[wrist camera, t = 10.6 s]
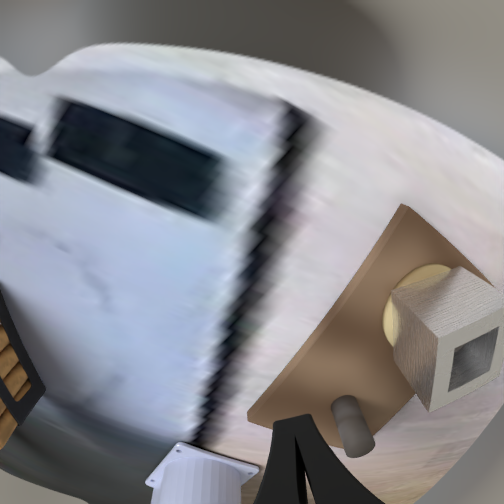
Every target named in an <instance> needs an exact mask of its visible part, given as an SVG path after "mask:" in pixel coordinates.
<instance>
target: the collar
mask: <svg viewBox="0 0 504 504" xmlns="http://www.w3.org/2000/svg"><path fill="white" fill-rule="evenodd" d="M391 298H392V318H393V360H394V361H395V363H396V364H397V366H398V367H399V369H400V370H401V372H402V373H403V375H404V376H405V378H406V379H407V381H408V382H409V384H410V385H411V387H412V388H413V390H414V391H415V393H416V394H417V396H418V397H419V399H420V400H421V402H422V403H423V405H424V406H425V408H426V410H427V411H428V413H430V412H432V411H435V410H437V409H439V408H441V407H443V406H445V405H447V404H449V403H451V402H453V401H455V400H457V399H459V398H461V397H463V396H465V395H467V394H469V393H471V392H472V391H474V390H476V389H478V388H480V387H482V386H483V385H485V384H487V383H488V382H490V381H492V380H494V379H495V378H497V377H499V374H500V371H501V367H502V363H503V359H504V293H502V292H501V291H499V290H497V289H496V288H494V287H493V286H491V285H490V284H488V283H487V282H485V281H484V280H482V279H480V278H479V277H477V276H476V275H474V274H472V273H471V272H469V271H468V270H466V269H464V268H463V267H461V266H459V267H457V268H454V269H451V270H449V271H446V272H443V273H440V274H437V275H435V276H432V277H429V278H426V279H423V280H420V281H417V282H414V283H411V284H409V285H406V286H403V287H399V288H396V289H393V290H391ZM463 344H464V346H463V347H462V348H461V349H460V350H458V351H456V352H454V350H455V348H456V347H459V346H461V345H463Z"/></svg>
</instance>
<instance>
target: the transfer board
mask: <svg viewBox="0 0 504 504" xmlns="http://www.w3.org/2000/svg"><path fill="white" fill-rule="evenodd" d="M459 266H461V267H463V268H464V269H466V270H468V271H469V272H471V273H472V274H474V275H476V276H477V277H479V278H480V279H482V280H484V281H485V282H487V283H488V284H490V285H491V286H493V285H492V284H491V283H490V282H489V281H488V280H487V279H486V278H485V276H484V275H483V274H482V273H481V272H480V271H479V270H478V269H477V268H476V267H475V266H474V265H473V264H472V263H471V262H470V261H469V260H468V259H467V258H466V257H465V256H464V255H462V254H461V253H460V252H459V251H458V250H457V249H456V248H455V247H454V246H453V245H452V244H451V243H450V242H449V241H448V240H447V239H446V238H444V237H443V236H442V235H441V234H440V233H439V232H438V231H437V230H436V229H434V228H433V227H432V226H431V225H430V224H429V223H428V222H427V221H425V220H424V219H423V218H422V217H421V216H420V215H418V214H417V213H416V212H415V211H414V210H413V209H411V208H410V207H409V206H406V205H404V204H400V206H399V208H398V209H397V211H396V213H395V214H394V216H393V218H392V219H391V221H390V222H389V224H388V226H387V227H386V229H385V230H384V232H383V233H382V235H381V236H380V238H379V240H378V241H377V243H376V244H375V246H374V247H373V249H372V250H371V252H370V253H369V255H368V256H367V258H366V259H365V261H364V262H363V264H362V265H361V267H360V268H359V270H358V271H357V272H356V274H355V275H354V277H353V278H352V280H351V281H350V283H349V284H348V285H347V287H346V288H345V290H344V291H343V292H342V294H341V295H340V297H339V298H338V299H337V301H336V302H335V304H334V305H333V306H332V308H331V309H330V310H329V312H328V313H327V314H326V316H325V317H324V318H323V320H322V321H321V322H320V324H319V325H318V326H317V328H316V329H315V330H314V332H313V333H312V334H311V336H310V337H309V338H308V339H307V341H306V342H305V343H304V345H303V346H302V347H301V348H300V350H299V351H298V352H297V353H296V355H295V356H294V357H293V358H292V360H291V361H290V362H289V363H288V365H287V366H286V367H285V368H284V369H283V371H282V372H281V373H280V374H279V375H278V377H277V378H276V379H275V380H274V381H273V383H272V384H271V385H270V386H269V387H268V389H267V390H266V391H265V392H264V393H263V394H262V396H261V397H260V398H259V399H258V400H257V401H256V402H255V404H254V405H253V406H252V407H251V408H250V409H249V410H248V412H247V418H248V421H249V422H251V423H254V424H257V425H260V426H263V427H266V428H269V429H273V423H274V422H275V421H278V420H282V419H287V418H291V417H295V416H300V415H304V414H308V413H309V414H311V415H312V417H313V420H314V422H315V424H316V426H317V428H318V430H319V432H320V433H321V435H322V437H323V438H324V440H325V441H326V443H327V444H328V445H330V446H334V447H338V448H343V449H344V450H345V453H346V455H347V456H348V457H350V458H357V457H361V456H364V455H366V454H368V453H369V452H370V451H372V450H373V448H374V447H375V441H374V439H373V435H374V434H375V433H376V432H378V431H379V430H380V429H381V428H382V427H383V426H384V425H385V424H386V423H387V422H388V421H389V420H390V419H391V418H392V417H393V416H394V415H395V414H396V413H397V412H398V411H399V410H400V409H401V408H402V407H403V406H404V405H405V404H406V403H407V402H408V401H409V400H410V399H411V398H412V397H413V395H414V394H415V391H414V390H413V388H412V387H411V385H410V384H409V382H408V381H407V379H406V378H405V376H404V375H403V373H402V372H401V370H400V369H399V367H398V366H397V364H396V363H395V361H394V360H393V318H392V298H391V290H393V289H396V288H399V287H403V286H406V285H409V284H411V283H414V282H417V281H420V280H423V279H426V278H429V277H432V276H435V275H437V274H440V273H443V272H446V271H449V270H451V269H454V268H457V267H459ZM493 287H494V286H493ZM494 288H495V287H494ZM463 346H464V344H463V345H461V346H459V347H456V348H455V350H454V352H456V351H458V350H460V349H461V348H462V347H463Z"/></svg>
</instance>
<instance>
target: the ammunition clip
mask: <svg viewBox="0 0 504 504" xmlns="http://www.w3.org/2000/svg"><path fill="white" fill-rule="evenodd" d="M45 391H46V388H45V386H44V384H43V382H42V381H41V379H40V377H39V375H38V373H37V371H36V370H35V368H34V366H33V364H32V362H31V360H30V358H29V356H28V354H27V352H26V350H25V348H24V346H23V344H22V341H21V339H20V337H19V335H18V333H17V330H16V328H15V326H14V323H13V321H12V319H11V316H10V314H9V311H8V309H7V306H6V304H5V301H4V299H3V296H2V293H1V291H0V450H1V449H2V448H3V447H4V445H5V444H6V442H7V440H8V439H9V437H10V436H11V434H12V432H13V431H14V429H15V428H16V426H17V424H18V426H21V425H22V423H23V422H24V420H25V419H26V417H27V416H28V414H29V413H30V411H31V410H32V409H33V407H34V406H35V405H36V403H37V402H38V400H39V399H40V398H41V396H42V395H43V394H44V392H45Z"/></svg>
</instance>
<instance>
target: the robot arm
mask: <svg viewBox="0 0 504 504" xmlns="http://www.w3.org/2000/svg"><path fill="white" fill-rule="evenodd" d="M258 472H259V467H258V466H255V465H251V464H247V463H244V462H240V461H237V460H234V459H230V458H227V457H224V456H221V455H217V454H214V453H211V452H208V451H205V450H203V449H200V448H197V447H194V446H191V445H189V444H186V443H183V442H179V443H177V444H176V445H175V446H174V447H173V448H172V450H171V451H170V452H169V453H168V455H167V456H166V457H165V458H164V459H163V461H162V462H161V463H160V464H159V465H158V466H157V468H156V469H155V470H154V471H153V472H152V474H151V475H150V476H149V477H148V478H147V479H146V482H145V483H146V485H148V486H151V487H153V488H154V490H153V495H152V500H151V504H241V486H242V485H243V484H244V483H245V482H247V481H248V480H249V479H251V478H252V477H253V476H254V475H256V474H257V473H258ZM305 472H306V476H307V479H308V482H309V485H310V488H311V491H312V494H313V497H314V500H315V503H316V504H385V503H384V502H382V501H381V500H380V499H378V498H377V497H376V496H375V495H373V494H372V493H371V492H370V491H369V490H368V489H367V488H365V487H364V486H363V485H362V484H361V483H360V482H359V481H358V480H357V479H356V478H355V477H354V476H353V475H352V474H351V473H350V472H349V471H348V469H347V468H346V467H345V466H344V465H343V464H342V463H341V461H340V460H339V459H338V458H337V456H336V455H335V454H334V452H333V451H332V450H331V448H330V447H329V446H328V444H327V443H326V441H325V440H324V438H323V437H322V435H321V433H320V432H319V430H318V428H317V426H316V424H315V422H314V420H313V417H312V415H311V414H309V413H308V414H304V415H300V416H295V417H291V418H287V419H282V420H278V421H275V422H274V423H273V433H272V442H271V447H270V453H269V457H268V461H267V465H266V469H265V473H264V476H263V479H262V482H261V485H260V488H259V491H258V493H257V496H256V499H255V501H254V503H253V504H308V499H307V489H306V478H305Z"/></svg>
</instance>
